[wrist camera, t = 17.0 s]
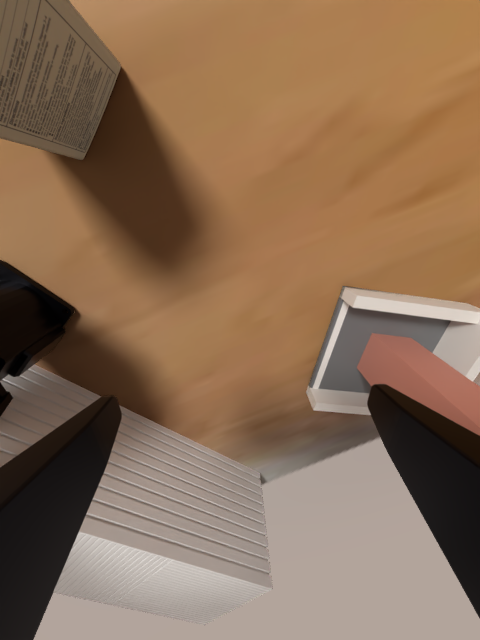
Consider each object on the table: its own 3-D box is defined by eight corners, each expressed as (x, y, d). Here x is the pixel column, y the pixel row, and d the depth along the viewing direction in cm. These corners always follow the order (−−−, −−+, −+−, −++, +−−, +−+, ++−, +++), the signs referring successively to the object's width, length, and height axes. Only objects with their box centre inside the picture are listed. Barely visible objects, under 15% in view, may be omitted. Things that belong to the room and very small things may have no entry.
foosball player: (356, 367, 24) (505, 555, 11) (371, 333, 22) (569, 506, 9) (393, 371, 24) (579, 557, 11) (411, 337, 22) (653, 511, 10)
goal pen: (306, 392, 25) (318, 422, 22) (342, 285, 20) (367, 302, 17) (408, 401, 26) (436, 432, 23) (467, 303, 21) (515, 322, 18)
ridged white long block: (-30, 413, 25) (-193, 541, 16) (0, 345, 22) (-183, 455, 12) (212, 508, 35) (205, 625, 25) (259, 471, 31) (272, 589, 22)
